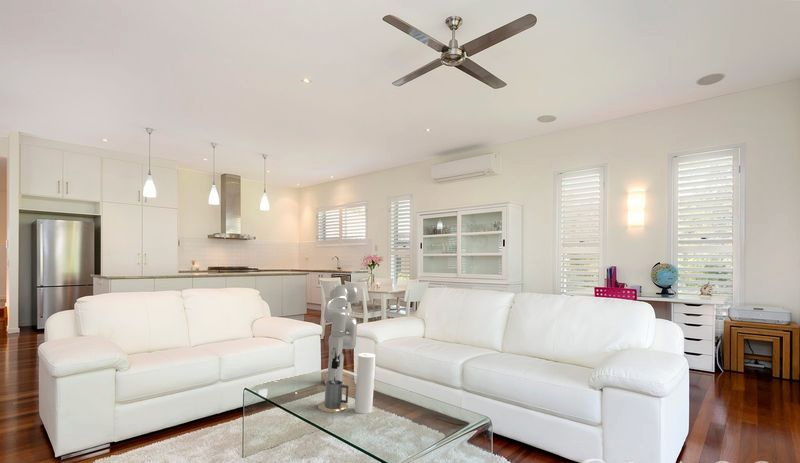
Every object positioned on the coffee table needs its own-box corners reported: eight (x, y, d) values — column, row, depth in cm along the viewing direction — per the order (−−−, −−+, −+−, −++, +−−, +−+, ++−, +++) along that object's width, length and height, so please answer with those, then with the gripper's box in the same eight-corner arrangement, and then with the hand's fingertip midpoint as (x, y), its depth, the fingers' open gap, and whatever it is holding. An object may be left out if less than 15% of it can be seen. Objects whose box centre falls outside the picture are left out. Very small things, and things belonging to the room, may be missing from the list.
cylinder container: (369, 414, 222) (373, 357, 223) (352, 412, 223) (356, 355, 225) (373, 408, 231) (377, 353, 232) (357, 406, 233) (361, 351, 234)
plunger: (330, 384, 233) (331, 357, 234) (341, 385, 233) (343, 358, 233) (326, 388, 227) (328, 360, 228) (338, 389, 226) (340, 361, 227)
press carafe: (323, 400, 238) (324, 376, 239) (350, 403, 236) (352, 379, 237) (313, 410, 222) (315, 385, 223) (343, 413, 220) (344, 388, 221)
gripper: (335, 330, 240) (333, 363, 239) (326, 336, 223) (324, 371, 222) (348, 331, 239) (346, 364, 238) (340, 337, 222) (338, 372, 222)
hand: (335, 367), depth 230 cm, fingers closed on plunger, 3 cm apart
